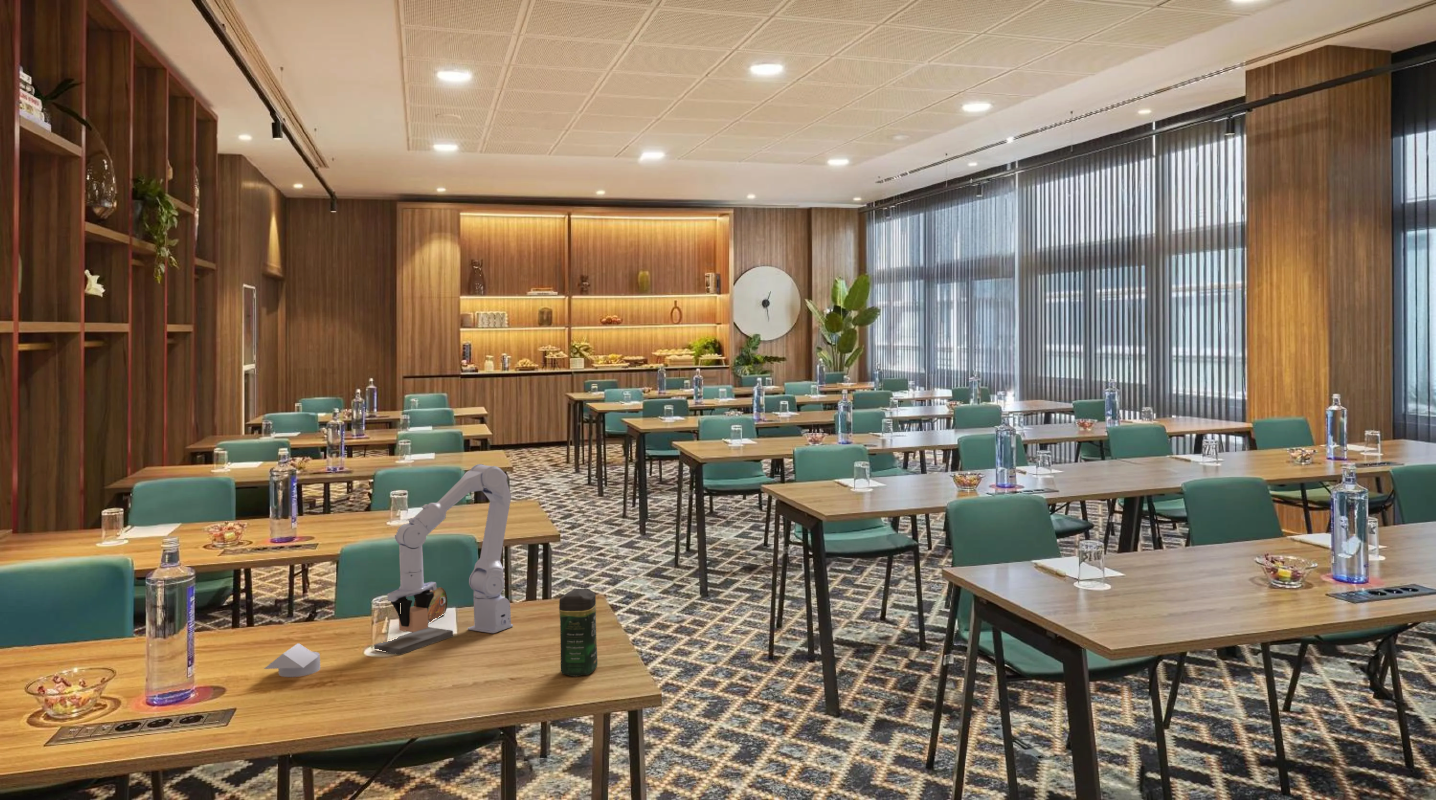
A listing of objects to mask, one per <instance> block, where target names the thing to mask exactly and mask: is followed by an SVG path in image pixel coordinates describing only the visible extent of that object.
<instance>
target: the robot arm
mask: <svg viewBox="0 0 1436 800" xmlns="http://www.w3.org/2000/svg"><path fill="white" fill-rule="evenodd" d="M507 480H508V475H507V474H506V472H504V471H503V470H502V468H500V467H499V466H496V465H487V464H481V463H479V464H478V463H477V464H475V465H474V466H472V467H471V468H470V470H467V471H466V472H465V473H464V474H463V476H462V477H461V478H460V479H459V480H458V481H457V482H456V483H455V484H454V485H453V486H452V487H451V488H450V489H449V490H448V491H447V492H446V493H445V494H444V495H443V496H442V497H441V498H440V499H439V500H438V501H437V502H429V503H428V504H426V503H425V504H423V505H422V506H421V509H422V510H420V511H419V512H418V513H417V514H416V515H415V516H413V517H410V518H409V519H408V523H403V524H402V525H400V526H399V527H398V529H397V531H396V533H395V534H394V539H395V541H396V543H397V544H398V545H399V546H398V548H399V549H398V550H399V574H400V575H399V577H400V579H399V581H400V586H399V587H398V589H396V590H393V591H391V592H388V593H387V602H390V603H391V604H392V606H393V608H394V610H395V611H396V614H397V617H398V620H399V619H400V622H401V626H405V627H408V626H409V622H410V607H412V603H413V600H411V599H408V597H409V598H410V597H412V596H413V598H414V602H416V607H421V608H427V611H428V608H429V605H430V603H431V600H432V599H433V597H434V593H433V592H430V590H436V588H437V582H436V581H429V582H424V581H425V580H424V579H425V577H424V556H423V555H424V554H423V545H424V544H425V543H426V541H427V536H428V535H429V534H430V533H431V532H432V531H433V530H435V529H436V528H437V527H438V526H439V525H440V524H441V523H442V522H444V521H445V519H446V517H447V512H448V511H449V510H450V509H451V508H452V507H454V506H455V505H456V504H457V503H458V502H460V501H461V500H462V499H463V498H464V497H466V496H467V495H469V493H474V492H482V493H483V494H484V495H485V496H486V498H487V499H488V500H489V505H488V510H487V516H486V522H485V528H484V532H483V538H482V545H481V551H480V556H479V557H480V558H478V560H477V561H476V562H475V564H474V568H473V570H472V571H471V574H470V575H469V579H468V585H469V587H470V588H471V590H473V595H472V596H473V617H474V618H473V621H474V622H473V623H474V624H473V625H472V626H469V627H467V630H468V631H475V632H482V633H488V634H495V633H498V632H501V631H503V630H506V629H510V628H512V627H513V626H514V624H512V616H511V611H512V610H511V602H510V600H509V599H508V598H507V597H503V595H502V592H503V590H504V588H505V579H504V568H503V565H502V563H501V559H502V552H503V546H504V540H505V535H506V529H507V524H508V523H507V522H508V516H509V511H510V507H511V506H510V505H511V500H512V494H511V492H510V491H511V490H510V487H509V483H508V481H507ZM400 603H401V614H400Z"/></svg>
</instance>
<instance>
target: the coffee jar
mask: <svg viewBox="0 0 1436 800" xmlns="http://www.w3.org/2000/svg"><path fill="white" fill-rule="evenodd" d="M558 605H559V606H558V609H559V611H558V612H559V626H560V627H559V629H560V631H559V632H560V638H559V639H560V672H561V674H562V675H565V676H566V675H567V676H570V677H579V676H584V675H588V676H589V675H590V674H592V673H593V672H594V671H595V670H596V668H597V667H598V647H597V646H598V645H597V643H598V642H597V600H596V593H595V592H594V591H592V590H591V588H573V589H572V590H570V591H567V592H566V593H565V594H564V595H562V596H561V597H560V598H559V604H558Z"/></svg>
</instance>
